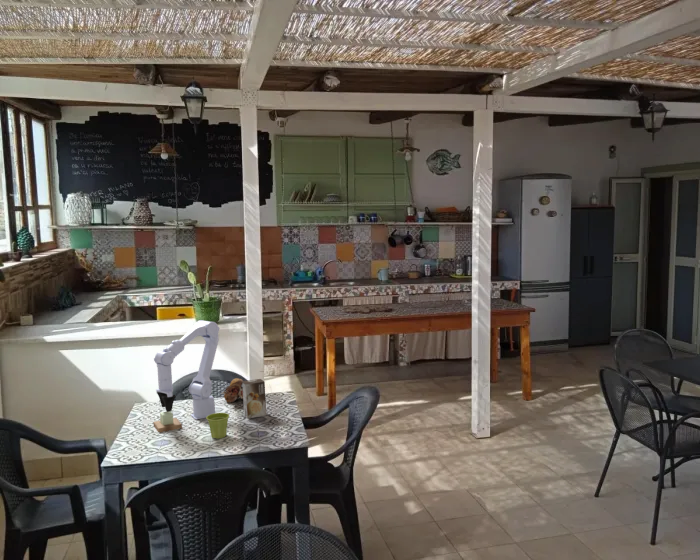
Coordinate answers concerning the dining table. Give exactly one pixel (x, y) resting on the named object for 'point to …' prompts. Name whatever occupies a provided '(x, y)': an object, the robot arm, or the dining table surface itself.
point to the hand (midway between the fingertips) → (166, 409)
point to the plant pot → (218, 424)
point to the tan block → (161, 428)
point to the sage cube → (166, 418)
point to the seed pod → (234, 390)
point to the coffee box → (254, 398)
